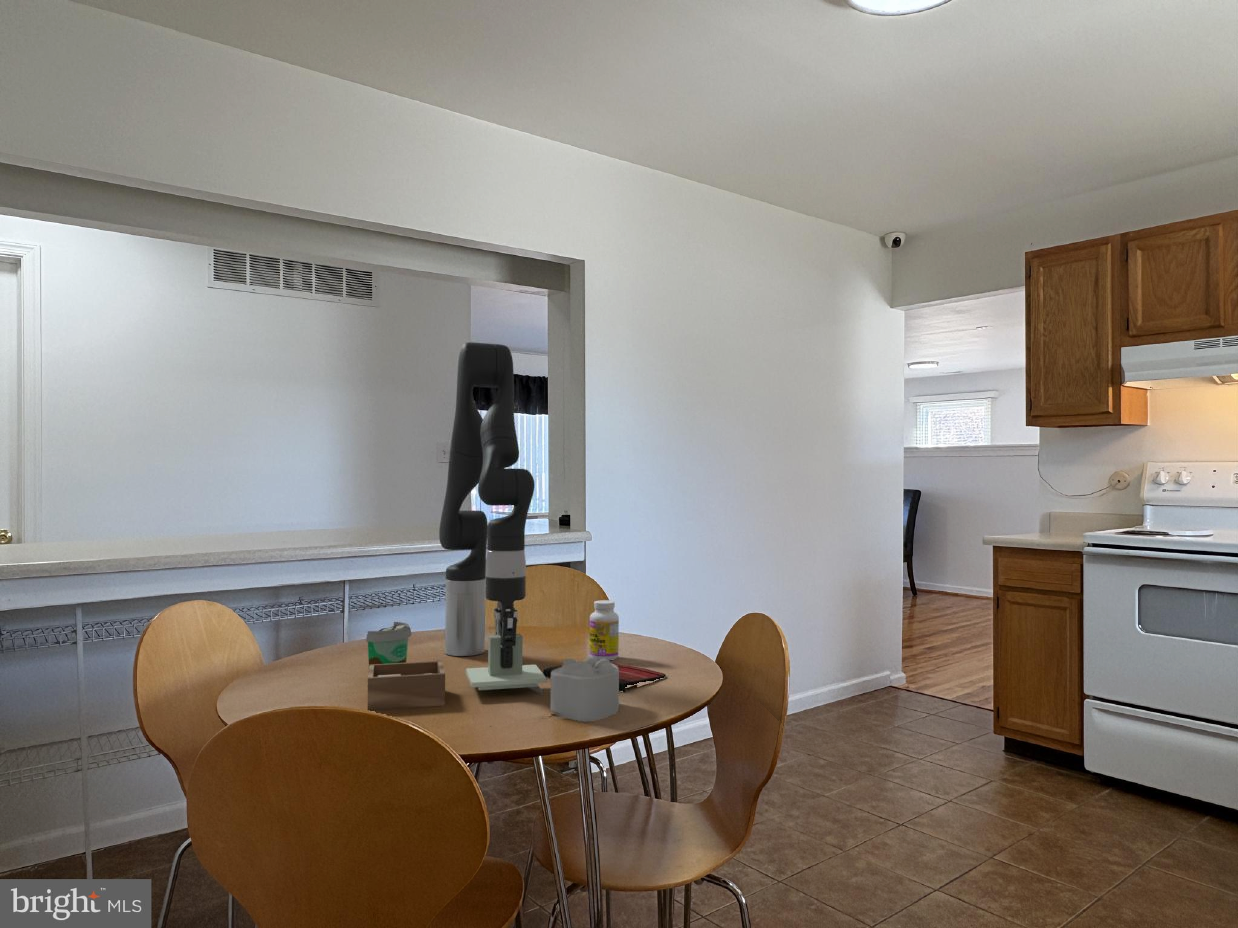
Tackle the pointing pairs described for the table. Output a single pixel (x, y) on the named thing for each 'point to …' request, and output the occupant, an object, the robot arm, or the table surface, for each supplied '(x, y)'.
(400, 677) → the box
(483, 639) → the robot arm
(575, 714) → the grey lumpy filled container
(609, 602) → the supplement bottle
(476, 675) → the lid
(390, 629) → the food container
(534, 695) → the table surface
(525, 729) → the table surface
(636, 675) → the binder
